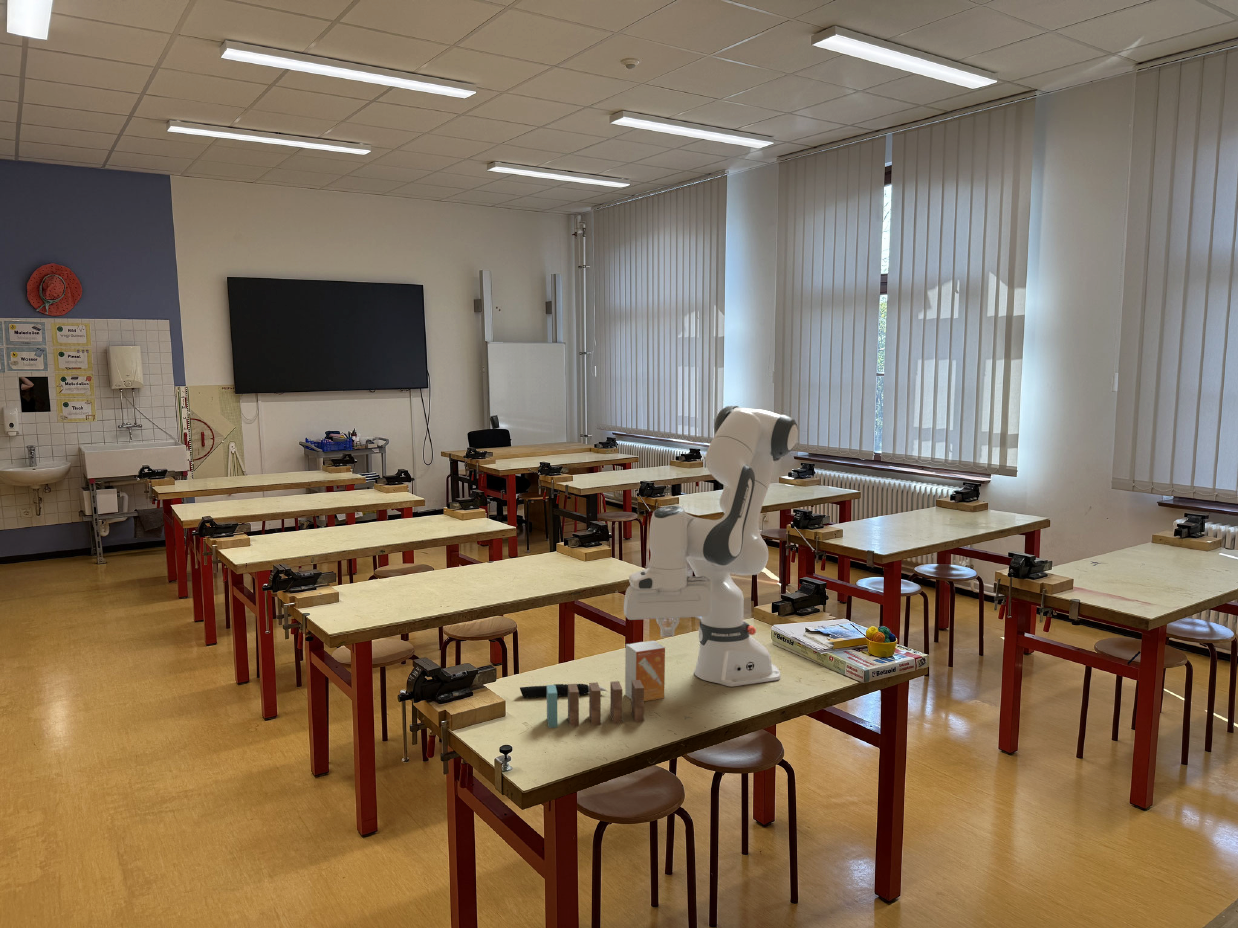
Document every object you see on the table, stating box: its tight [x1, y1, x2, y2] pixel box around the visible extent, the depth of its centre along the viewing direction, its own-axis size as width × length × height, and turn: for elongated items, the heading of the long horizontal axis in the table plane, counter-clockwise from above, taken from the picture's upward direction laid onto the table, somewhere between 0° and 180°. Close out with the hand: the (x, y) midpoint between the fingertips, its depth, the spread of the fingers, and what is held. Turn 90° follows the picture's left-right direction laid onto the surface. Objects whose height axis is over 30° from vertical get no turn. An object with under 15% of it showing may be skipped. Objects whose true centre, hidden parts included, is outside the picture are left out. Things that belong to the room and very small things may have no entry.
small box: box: [624, 639, 666, 702], centre depth 206 cm, size 8×6×13 cm
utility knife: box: [519, 683, 608, 699], centre depth 207 cm, size 22×4×3 cm, turn 98°
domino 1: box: [546, 684, 558, 729], centre depth 190 cm, size 2×5×8 cm, turn 10°
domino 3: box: [588, 681, 602, 726], centre depth 192 cm, size 2×5×8 cm, turn 9°
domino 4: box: [609, 680, 623, 724], centre depth 193 cm, size 2×5×8 cm, turn 9°
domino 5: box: [631, 680, 645, 723], centre depth 193 cm, size 2×5×8 cm, turn 9°
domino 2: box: [567, 683, 580, 727], centre depth 191 cm, size 2×5×8 cm, turn 9°
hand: (667, 635), depth 193 cm, fingers closed
